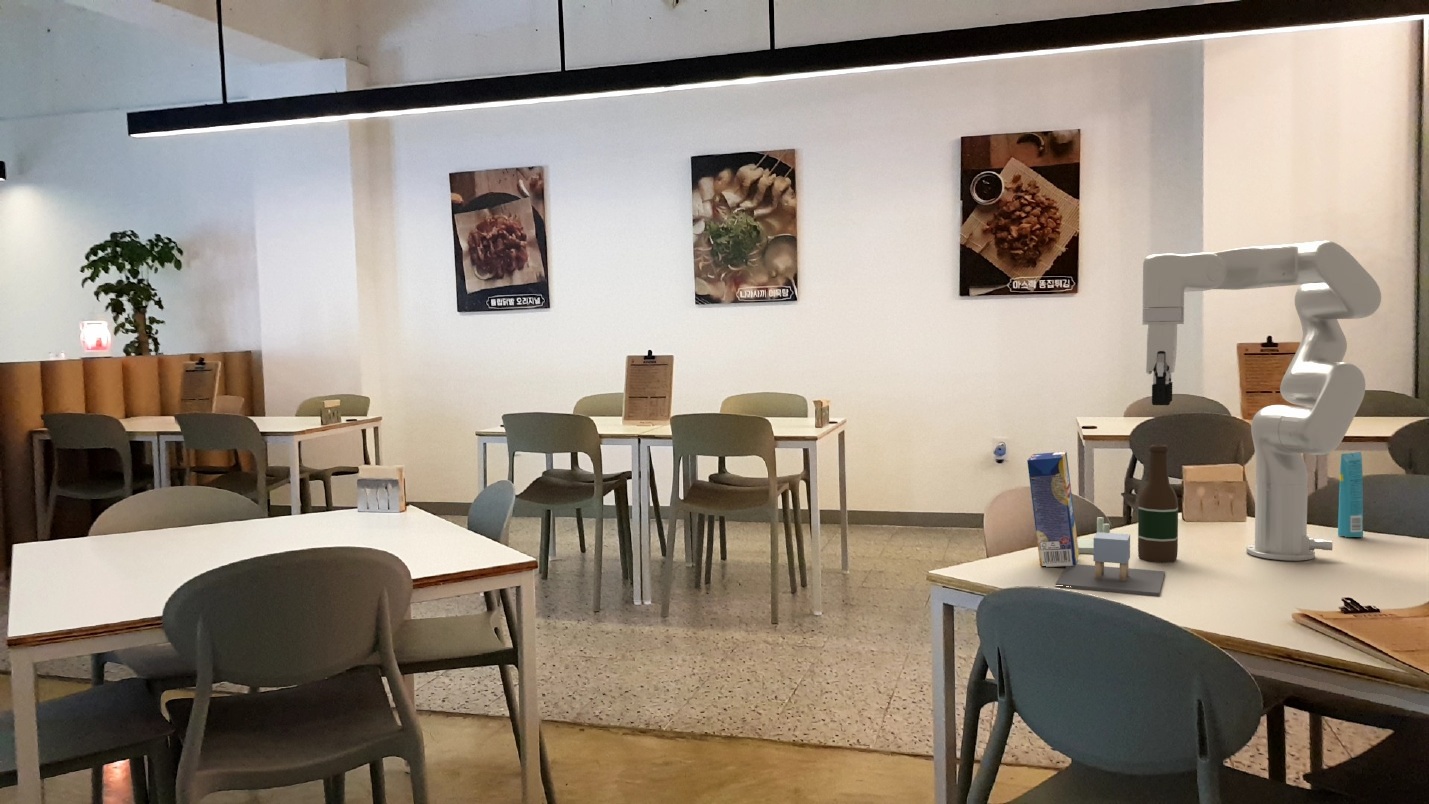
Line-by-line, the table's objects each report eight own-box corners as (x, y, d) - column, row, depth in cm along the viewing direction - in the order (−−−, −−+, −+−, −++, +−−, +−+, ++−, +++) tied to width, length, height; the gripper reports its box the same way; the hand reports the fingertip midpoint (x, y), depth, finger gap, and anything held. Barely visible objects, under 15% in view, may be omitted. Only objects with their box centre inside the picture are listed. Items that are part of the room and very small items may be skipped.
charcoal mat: (1164, 574, 199) (1164, 571, 199) (1159, 596, 183) (1159, 592, 183) (1068, 566, 207) (1068, 563, 207) (1055, 586, 191) (1055, 583, 191)
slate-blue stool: (1096, 572, 199) (1097, 532, 198) (1129, 575, 196) (1130, 534, 196) (1093, 579, 194) (1093, 538, 193) (1127, 582, 191) (1127, 540, 190)
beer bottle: (1182, 563, 208) (1183, 447, 206) (1141, 562, 209) (1142, 447, 208) (1173, 555, 215) (1174, 442, 214) (1134, 554, 217) (1135, 442, 215)
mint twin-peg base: (1104, 544, 227) (1105, 516, 227) (1113, 553, 218) (1113, 525, 217) (1058, 543, 229) (1058, 516, 229) (1064, 552, 220) (1064, 524, 219)
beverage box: (1079, 554, 214) (1066, 451, 214) (1075, 565, 204) (1062, 457, 204) (1045, 555, 217) (1032, 454, 216) (1040, 567, 207) (1027, 460, 206)
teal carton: (1346, 532, 235) (1348, 450, 234) (1369, 536, 231) (1371, 452, 229) (1330, 536, 231) (1332, 453, 229) (1353, 540, 227) (1355, 455, 225)
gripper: (1145, 317, 210) (1144, 400, 211) (1139, 317, 194) (1138, 406, 196) (1185, 316, 206) (1184, 400, 208) (1182, 316, 191) (1181, 406, 192)
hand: (1162, 403), depth 202 cm, fingers open, 9 cm apart
